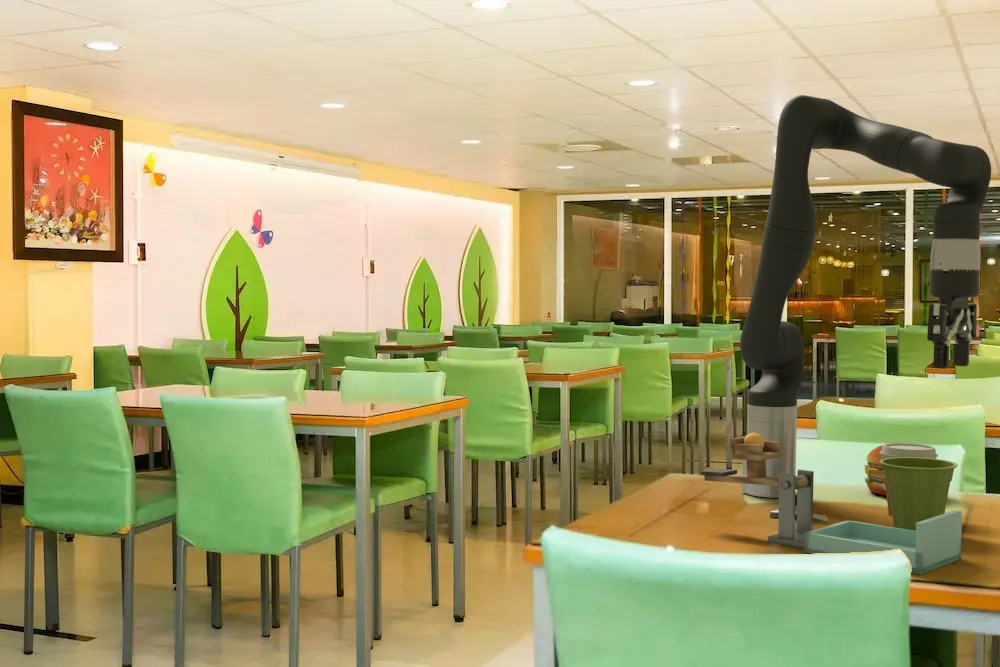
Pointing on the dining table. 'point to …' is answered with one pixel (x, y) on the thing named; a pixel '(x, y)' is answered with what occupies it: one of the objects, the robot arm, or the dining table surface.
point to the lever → (752, 465)
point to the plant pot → (917, 488)
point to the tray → (894, 540)
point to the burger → (875, 472)
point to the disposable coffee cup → (905, 451)
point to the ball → (754, 439)
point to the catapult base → (787, 510)
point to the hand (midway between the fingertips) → (951, 367)
